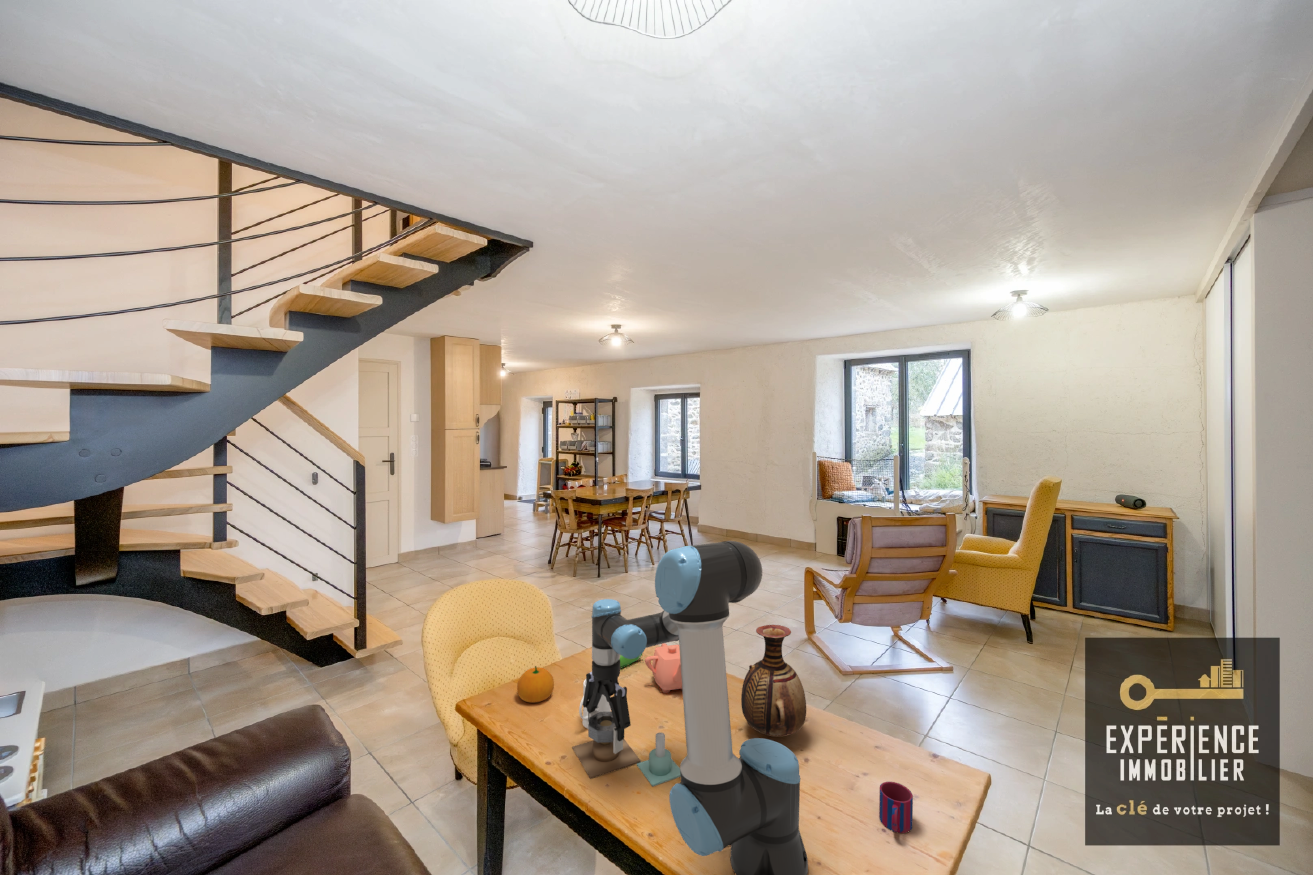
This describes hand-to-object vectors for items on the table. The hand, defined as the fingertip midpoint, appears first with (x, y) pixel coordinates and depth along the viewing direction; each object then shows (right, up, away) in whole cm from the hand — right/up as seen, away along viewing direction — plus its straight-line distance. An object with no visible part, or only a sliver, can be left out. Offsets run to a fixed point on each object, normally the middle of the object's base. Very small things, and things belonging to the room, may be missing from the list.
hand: (605, 742), depth 138 cm
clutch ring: (0, +3, 0) cm, 3 cm away
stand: (+14, -3, -6) cm, 16 cm away
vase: (+47, -3, +10) cm, 48 cm away
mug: (-5, -3, +14) cm, 15 cm away
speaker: (0, -3, +52) cm, 52 cm away
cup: (+66, -4, -24) cm, 70 cm away
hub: (0, -3, 0) cm, 3 cm away
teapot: (+19, -3, +37) cm, 42 cm away
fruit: (-26, -3, +29) cm, 39 cm away
